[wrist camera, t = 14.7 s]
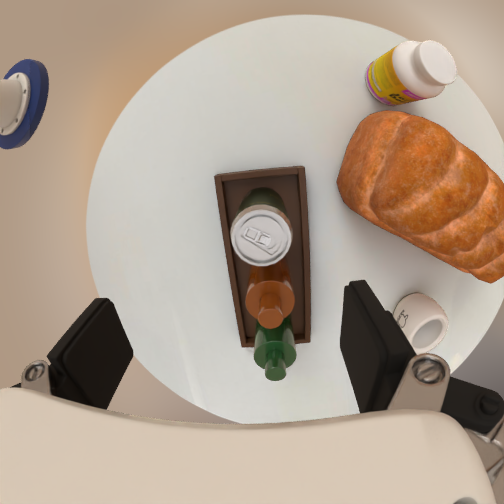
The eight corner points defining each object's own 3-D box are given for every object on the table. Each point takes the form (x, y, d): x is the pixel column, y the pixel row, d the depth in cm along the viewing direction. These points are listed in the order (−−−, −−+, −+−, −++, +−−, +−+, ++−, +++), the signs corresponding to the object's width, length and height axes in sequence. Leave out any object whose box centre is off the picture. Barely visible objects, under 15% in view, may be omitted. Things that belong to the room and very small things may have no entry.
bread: (454, 265, 36) (509, 313, 21) (324, 197, 33) (366, 237, 19) (486, 192, 31) (552, 220, 16) (363, 102, 28) (428, 79, 14)
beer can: (234, 217, 34) (219, 253, 23) (251, 179, 32) (244, 196, 21) (272, 234, 35) (276, 278, 24) (291, 197, 33) (305, 224, 22)
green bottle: (257, 329, 41) (255, 389, 29) (254, 301, 39) (250, 360, 28) (291, 327, 40) (298, 386, 29) (290, 298, 38) (298, 356, 27)
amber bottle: (252, 284, 38) (246, 341, 26) (247, 250, 36) (239, 298, 25) (289, 281, 37) (298, 337, 26) (287, 246, 35) (297, 293, 24)
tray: (242, 339, 42) (241, 347, 40) (217, 174, 33) (214, 176, 31) (308, 334, 41) (310, 342, 39) (302, 165, 32) (304, 167, 30)
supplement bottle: (369, 106, 28) (420, 91, 16) (358, 60, 26) (401, 26, 14) (411, 106, 28) (470, 97, 16) (401, 62, 25) (453, 37, 13)
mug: (405, 279, 37) (428, 306, 30) (437, 294, 38) (459, 319, 31) (366, 337, 41) (380, 369, 34) (399, 347, 42) (415, 376, 35)
